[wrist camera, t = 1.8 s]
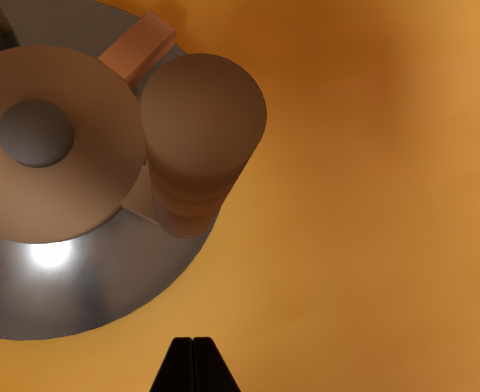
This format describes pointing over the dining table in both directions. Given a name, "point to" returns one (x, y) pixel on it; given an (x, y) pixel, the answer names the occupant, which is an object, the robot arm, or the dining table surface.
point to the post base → (101, 239)
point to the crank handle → (121, 136)
